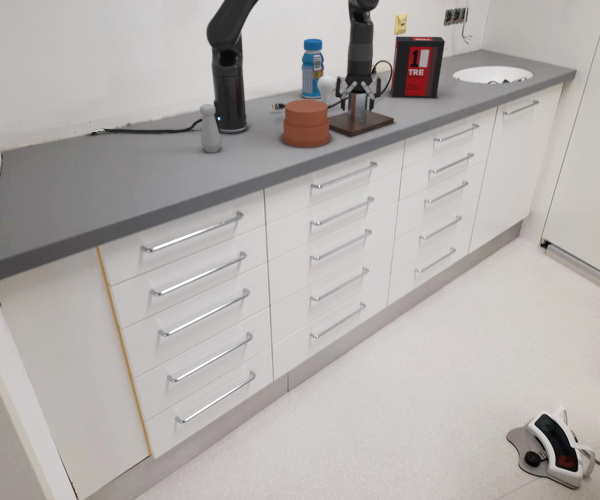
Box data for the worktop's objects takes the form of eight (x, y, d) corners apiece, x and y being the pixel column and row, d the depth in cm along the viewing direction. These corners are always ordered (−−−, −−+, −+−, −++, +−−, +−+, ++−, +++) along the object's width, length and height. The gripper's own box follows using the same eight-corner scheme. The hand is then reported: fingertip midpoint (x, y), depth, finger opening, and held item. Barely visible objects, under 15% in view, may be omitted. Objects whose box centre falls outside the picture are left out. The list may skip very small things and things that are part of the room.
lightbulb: (320, 110, 168) (320, 78, 162) (315, 105, 173) (315, 74, 167) (336, 108, 170) (337, 76, 164) (330, 103, 175) (331, 72, 168)
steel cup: (347, 122, 153) (349, 93, 148) (347, 116, 158) (348, 88, 153) (366, 122, 153) (368, 94, 148) (365, 116, 158) (367, 88, 153)
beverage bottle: (299, 98, 181) (298, 41, 170) (304, 92, 188) (304, 37, 177) (321, 99, 179) (322, 42, 168) (325, 93, 186) (326, 38, 175)
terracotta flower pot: (280, 147, 139) (279, 113, 134) (283, 130, 152) (283, 98, 146) (330, 147, 139) (331, 113, 133) (330, 130, 151) (331, 98, 145)
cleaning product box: (392, 97, 181) (397, 40, 170) (390, 90, 189) (396, 36, 178) (436, 98, 180) (444, 41, 169) (433, 91, 187) (441, 37, 176)
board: (350, 136, 146) (351, 132, 145) (318, 124, 156) (318, 120, 155) (393, 122, 157) (394, 118, 156) (360, 112, 166) (360, 107, 165)
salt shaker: (213, 144, 141) (208, 100, 134) (226, 149, 138) (222, 104, 131) (198, 150, 137) (192, 105, 130) (211, 155, 134) (206, 109, 127)
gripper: (382, 54, 148) (377, 107, 157) (336, 54, 148) (334, 106, 157) (384, 60, 141) (380, 114, 150) (337, 60, 142) (335, 113, 151)
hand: (356, 110), depth 154 cm, fingers open, 8 cm apart
